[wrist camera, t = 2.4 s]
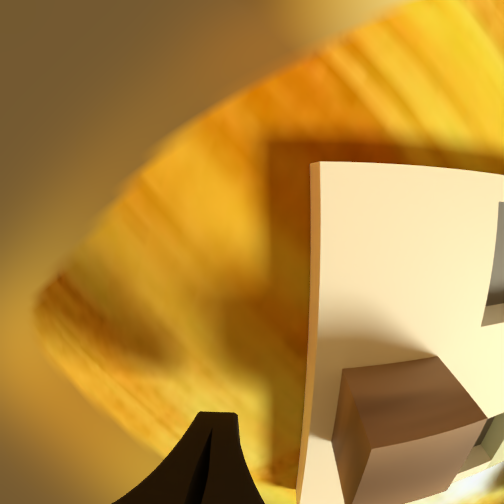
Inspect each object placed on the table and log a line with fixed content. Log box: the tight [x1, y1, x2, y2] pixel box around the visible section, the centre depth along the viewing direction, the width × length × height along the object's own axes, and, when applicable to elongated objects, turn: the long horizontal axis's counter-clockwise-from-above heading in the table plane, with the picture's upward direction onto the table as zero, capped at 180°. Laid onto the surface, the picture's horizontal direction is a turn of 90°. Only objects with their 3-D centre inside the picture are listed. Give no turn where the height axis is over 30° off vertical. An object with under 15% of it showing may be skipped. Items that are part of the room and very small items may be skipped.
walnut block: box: [331, 356, 488, 504], centre depth 9 cm, size 4×4×4 cm
